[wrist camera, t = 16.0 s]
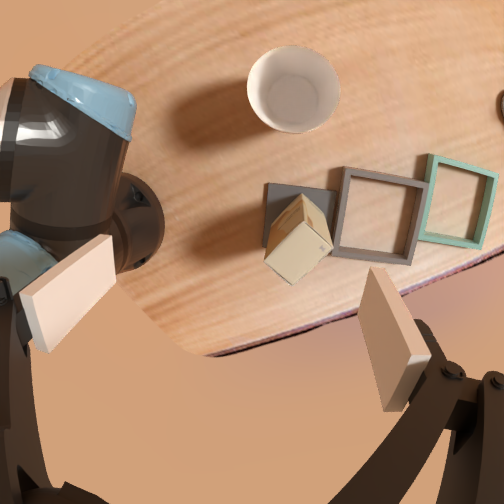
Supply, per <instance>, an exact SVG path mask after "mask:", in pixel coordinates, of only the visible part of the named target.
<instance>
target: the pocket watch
mask: <svg viewBox="0 0 504 504" xmlns="http://www.w3.org/2000/svg"><path fill="white" fill-rule="evenodd" d="M501 108H502V113H503V117H504V95H503V98H502V103H501Z"/></svg>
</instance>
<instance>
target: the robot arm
mask: <svg viewBox="0 0 504 504" xmlns="http://www.w3.org/2000/svg"><path fill="white" fill-rule="evenodd" d="M29 77H30V78H29V79H26V78H10V79H9V80H8V81H7V82H6V83H4V84H3V85H2V86H1V87H0V202H11V213H10V229H9V231H8V230H6V231H4V232H2V233H1V234H0V504H109V503H107V502H106V501H104V500H103V499H101V498H100V497H98V496H97V495H95V494H92V493H90V492H88V491H85V490H83V489H81V488H78V487H76V486H74V485H72V484H70V483H68V482H66V481H65V482H64V484H63V486H62V488H54V487H53V486H52V485H51V483H50V481H49V478H48V475H47V472H46V467H45V463H44V458H43V454H42V449H41V444H40V438H39V433H38V426H37V420H36V413H35V405H34V396H33V386H32V375H31V358H30V348H29V345H28V342H29V341H30V340H31V339H32V338H33V340H34V344H35V346H36V349H38V350H40V351H43V352H46V353H48V354H49V353H50V352H51V351H52V350H53V349H54V348H55V347H56V346H57V344H58V343H59V342H60V341H61V340H62V339H63V338H64V337H65V336H66V334H67V333H68V332H69V331H70V330H71V329H72V328H73V327H74V326H75V325H76V324H77V323H78V321H79V320H80V319H81V318H82V317H83V316H84V315H85V314H86V313H87V312H88V311H89V310H90V309H91V308H92V307H93V305H94V304H95V303H96V302H97V301H98V300H99V299H100V298H101V297H102V296H103V295H104V294H105V293H106V292H107V291H108V290H109V289H110V288H111V287H112V286H113V285H114V284H115V283H116V275H117V274H119V273H123V272H126V271H130V270H134V269H136V268H139V267H141V266H142V265H144V264H145V263H146V262H147V261H149V260H150V259H151V258H152V256H153V255H154V254H155V253H156V252H157V250H158V249H159V247H160V245H161V243H162V240H163V236H164V229H165V221H164V215H163V210H162V207H161V205H160V202H159V200H158V198H157V197H156V195H155V193H154V192H153V191H152V189H151V188H150V187H149V186H148V185H147V184H146V183H145V182H143V181H142V180H141V179H139V178H137V177H136V176H133V175H131V174H128V173H123V172H122V168H123V164H124V160H125V156H126V153H127V149H128V145H129V142H131V140H132V137H131V131H132V126H133V122H134V118H135V114H136V109H137V104H136V100H135V98H134V96H133V95H132V94H131V93H130V92H129V91H127V90H125V89H122V88H120V87H117V86H114V85H111V84H108V83H105V82H102V81H99V80H96V79H93V78H90V77H86V76H83V75H79V74H76V73H72V72H68V71H65V70H61V69H56V68H52V67H49V66H45V65H40V64H38V65H35V66H34V67H33V69H32V70H31V71H30V72H29ZM357 315H358V318H359V321H360V325H361V328H362V332H363V335H364V338H365V342H366V345H367V349H368V353H369V356H370V360H371V363H372V367H373V371H374V375H375V379H376V383H377V387H378V390H379V395H380V399H381V403H382V407H383V411H384V412H398V411H399V412H400V411H402V410H403V409H404V407H405V405H406V404H407V402H408V401H409V404H410V405H409V407H408V408H407V410H406V411H405V412H404V414H403V415H402V417H401V418H400V419H399V421H398V422H397V424H396V425H395V426H394V428H393V429H392V430H391V432H390V433H389V434H388V436H387V437H386V438H385V439H384V441H383V442H382V443H381V445H380V446H379V447H378V448H377V450H376V451H375V452H374V453H373V454H372V456H371V457H370V458H369V459H368V461H367V462H366V463H365V464H364V465H363V466H362V468H361V469H360V470H359V471H358V472H357V473H356V474H355V475H354V477H353V478H352V479H351V480H350V481H349V482H348V483H347V484H346V485H345V486H344V487H343V488H342V490H341V491H340V492H339V493H338V494H337V495H336V496H335V497H334V498H333V499H332V500H331V501H330V502H329V503H328V504H399V502H400V501H401V499H402V498H403V497H404V495H405V494H406V492H407V490H408V489H409V488H410V486H411V485H412V483H413V482H414V480H415V479H416V477H417V475H418V474H419V472H420V470H421V469H422V467H423V465H424V464H425V462H426V460H427V459H428V457H429V455H430V453H431V452H432V450H433V448H434V446H435V444H436V443H437V441H438V439H439V437H440V435H441V433H442V431H443V429H449V430H452V431H451V437H450V443H449V449H448V454H447V459H446V464H445V469H444V473H443V478H442V482H441V486H440V490H439V494H438V498H437V501H436V504H504V375H503V374H502V373H499V372H497V371H489V372H487V373H486V374H485V375H484V377H483V379H482V380H476V379H472V378H467V377H466V373H465V371H464V370H463V369H462V367H461V366H459V365H458V364H456V363H454V362H451V361H447V359H446V357H445V355H444V353H443V352H442V350H441V348H440V346H439V344H438V343H437V342H436V339H435V337H434V336H433V333H432V332H431V330H430V328H429V327H428V326H427V325H426V324H425V323H424V322H423V321H422V320H419V319H413V318H412V316H411V314H410V313H409V311H408V309H407V307H406V305H405V303H404V302H403V300H402V298H401V296H400V294H399V293H398V291H397V289H396V287H395V285H394V284H393V282H392V280H391V279H390V277H389V275H388V273H387V272H386V270H385V268H379V267H370V269H369V273H368V277H367V281H366V285H365V289H364V292H363V296H362V300H361V303H360V307H359V311H358V314H357Z"/></svg>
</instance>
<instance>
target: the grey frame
mask: <svg viewBox="0 0 504 504" xmlns="http://www.w3.org/2000/svg"><path fill="white" fill-rule="evenodd" d="M351 175H354V176H360V177H366V178H372V179H377V180H383V181H389V182H394V183H399V184H404V185H409V186H414V187H418V189H417V194H416V200H415V205H414V209H413V214H412V219H411V223H410V228H409V232H408V236H407V241H406V245H405V249H404V253H403V255H402V254H395V253H387V252H380V251H372V250H365V249H357V248H349V247H341V246H339V244H340V239H341V233H342V228H343V222H344V216H345V210H346V204H347V198H348V192H349V185H350V178H351ZM428 189H429V183H427V182H425V181H421V180H417V179H412V178H407V177H402V176H397V175H392V174H387V173H381V172H376V171H370V170H364V169H358V168H352V167H346V166H343V171H342V178H341V185H340V192H339V199H338V205H337V211H336V218H335V224H334V230H333V235H332V244H333V250H332V251H330V253H331V256H336V257H344V258H352V259H360V260H368V261H377V262H385V263H393V264H401V265H409V266H411V263H412V259H413V255H414V251H415V248H416V244H417V240H418V236H419V231H420V227H421V223H422V219H423V214H424V209H425V205H426V200H427V195H428Z"/></svg>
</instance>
